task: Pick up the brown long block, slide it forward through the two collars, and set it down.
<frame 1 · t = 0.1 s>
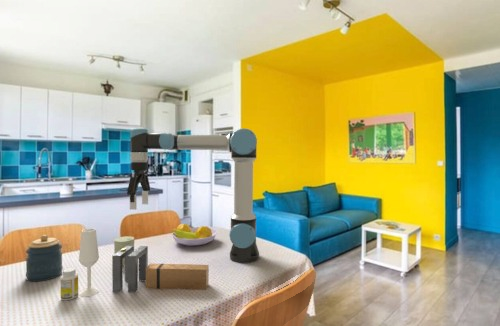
hand: (139, 206, 138), 28 cm above the table, fingers open, 13 cm apart
brown long block: (177, 286, 117), on the table
supplement bottle: (69, 297, 107), on the table
canister: (44, 276, 126), on the table
collar A: (138, 285, 118), on the table
can: (124, 262, 142), on the table
collar B: (123, 284, 118), on the table
champagne flute: (89, 292, 111), on the table
fruit bowl: (193, 243, 174), on the table
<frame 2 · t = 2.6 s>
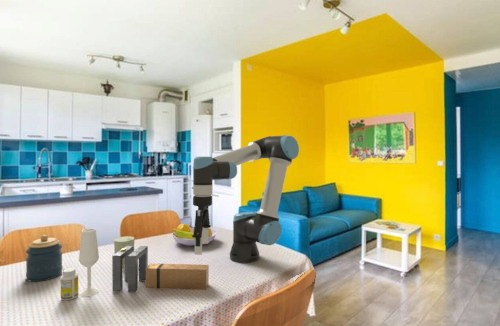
hand: (201, 248, 116), 15 cm above the table, fingers open, 13 cm apart
nothing on the table moved.
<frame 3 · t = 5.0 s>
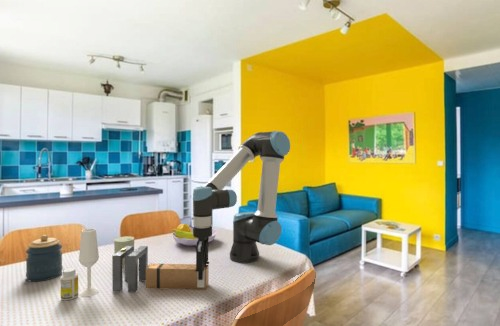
hand: (202, 283, 117), 1 cm above the table, fingers closed on brown long block, 5 cm apart
brown long block: (177, 286, 117), on the table, touching gripper
everything else where it was.
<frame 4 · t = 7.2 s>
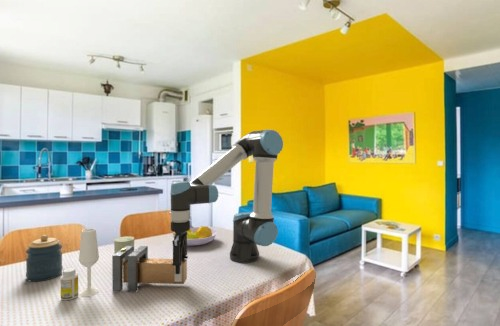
hand: (180, 278, 117), 3 cm above the table, fingers closed on brown long block, 5 cm apart
brown long block: (155, 280, 117), point 2 cm above the table, touching gripper
everything else where it was.
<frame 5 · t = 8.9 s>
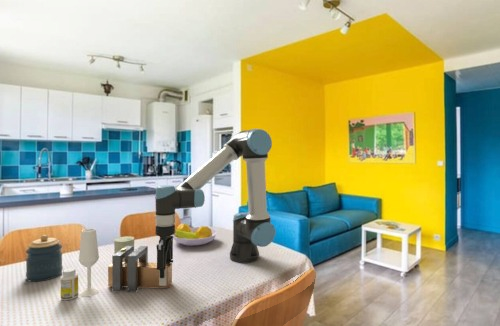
hand: (165, 281, 117), 2 cm above the table, fingers closed on brown long block, 5 cm apart
brown long block: (140, 284, 118), on the table, touching gripper
everything else where it was.
when the fingers open (1 cm above the table, at t = 9.5 s): brown long block stays where it is, on the table.
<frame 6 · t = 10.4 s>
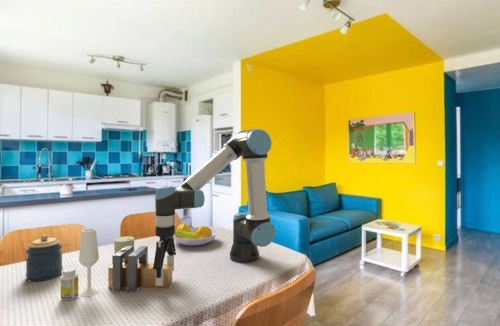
hand: (165, 277, 117), 3 cm above the table, fingers open, 13 cm apart
brown long block: (140, 285, 118), on the table
everything else where it was.
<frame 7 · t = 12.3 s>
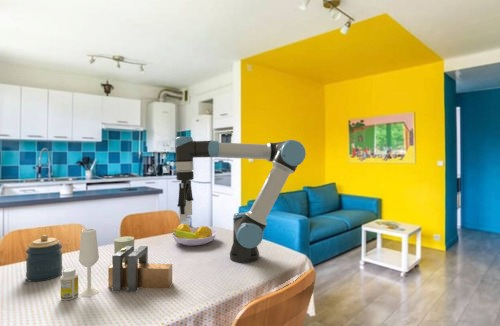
hand: (186, 217, 132), 24 cm above the table, fingers open, 13 cm apart
nothing on the table moved.
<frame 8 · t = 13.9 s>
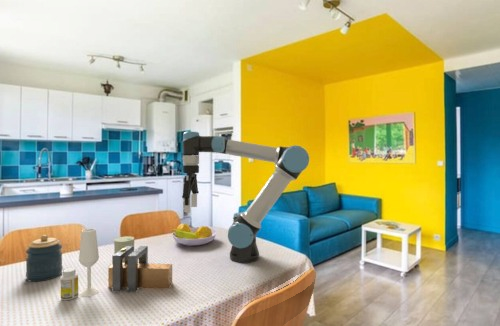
hand: (190, 209, 138), 27 cm above the table, fingers open, 13 cm apart
nothing on the table moved.
at the end: brown long block 0.1 cm from the target spot on the table beside the collar B, on the table; the gripper is holding nothing; brown long block tilted 0° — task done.
